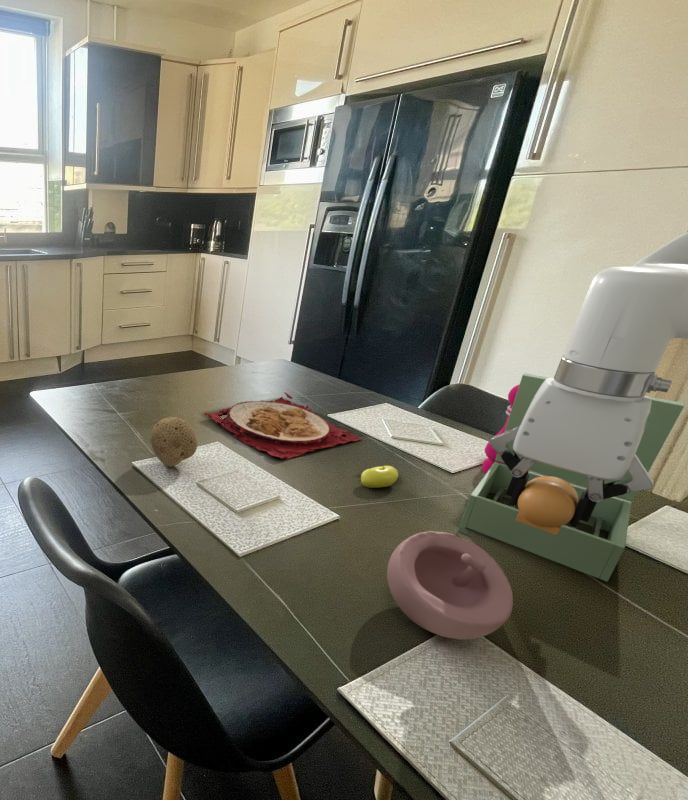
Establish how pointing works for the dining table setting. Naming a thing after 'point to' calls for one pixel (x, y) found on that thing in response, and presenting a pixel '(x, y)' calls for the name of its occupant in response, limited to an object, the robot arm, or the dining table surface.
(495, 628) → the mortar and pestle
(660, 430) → the lid
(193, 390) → the dining table surface
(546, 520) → the bread roll
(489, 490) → the bin
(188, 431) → the natural sponge
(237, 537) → the dining table surface
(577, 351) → the robot arm
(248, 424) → the plate with food
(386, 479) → the yellow oval piece
